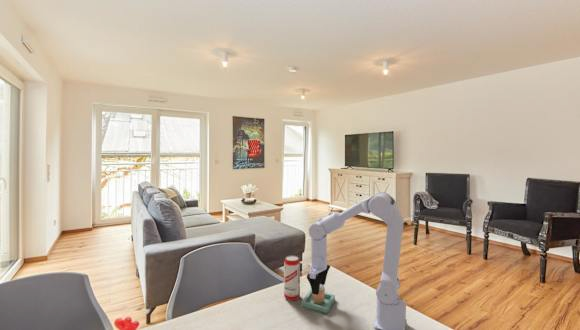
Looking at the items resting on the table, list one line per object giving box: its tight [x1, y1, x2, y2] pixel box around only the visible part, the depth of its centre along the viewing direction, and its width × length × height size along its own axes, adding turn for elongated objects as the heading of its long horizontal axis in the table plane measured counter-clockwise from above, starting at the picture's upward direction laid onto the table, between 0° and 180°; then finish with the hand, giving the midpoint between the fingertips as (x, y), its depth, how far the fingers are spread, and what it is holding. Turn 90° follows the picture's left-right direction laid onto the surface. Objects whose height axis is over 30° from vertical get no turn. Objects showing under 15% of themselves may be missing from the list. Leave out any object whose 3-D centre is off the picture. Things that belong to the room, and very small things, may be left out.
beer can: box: [283, 254, 301, 302], centre depth 109 cm, size 6×6×16 cm
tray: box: [300, 289, 336, 315], centre depth 105 cm, size 10×10×2 cm
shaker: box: [312, 284, 326, 306], centre depth 105 cm, size 5×5×6 cm
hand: (318, 288), depth 105 cm, fingers open, 7 cm apart
